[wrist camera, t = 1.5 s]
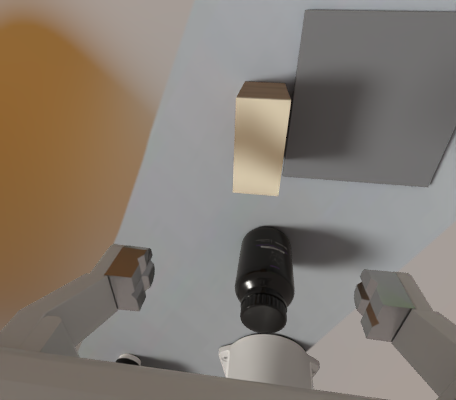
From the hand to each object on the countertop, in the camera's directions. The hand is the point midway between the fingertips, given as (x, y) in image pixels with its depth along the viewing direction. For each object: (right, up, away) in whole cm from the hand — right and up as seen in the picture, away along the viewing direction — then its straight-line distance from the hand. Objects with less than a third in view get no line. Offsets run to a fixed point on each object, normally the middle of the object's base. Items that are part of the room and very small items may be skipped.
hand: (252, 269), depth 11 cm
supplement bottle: (+4, -3, +28) cm, 28 cm away
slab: (+3, +11, +19) cm, 22 cm away
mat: (+14, +12, +17) cm, 25 cm away
